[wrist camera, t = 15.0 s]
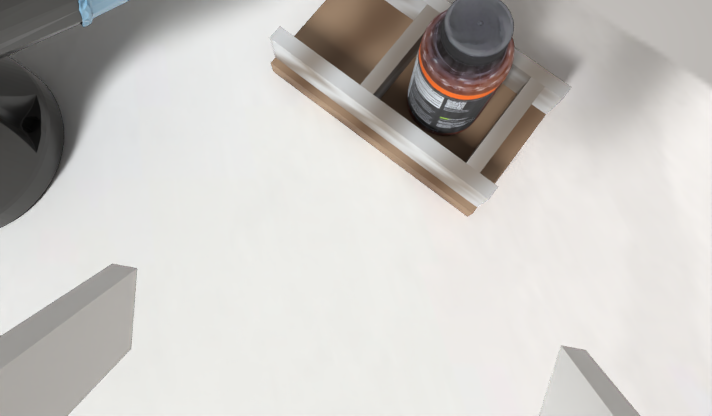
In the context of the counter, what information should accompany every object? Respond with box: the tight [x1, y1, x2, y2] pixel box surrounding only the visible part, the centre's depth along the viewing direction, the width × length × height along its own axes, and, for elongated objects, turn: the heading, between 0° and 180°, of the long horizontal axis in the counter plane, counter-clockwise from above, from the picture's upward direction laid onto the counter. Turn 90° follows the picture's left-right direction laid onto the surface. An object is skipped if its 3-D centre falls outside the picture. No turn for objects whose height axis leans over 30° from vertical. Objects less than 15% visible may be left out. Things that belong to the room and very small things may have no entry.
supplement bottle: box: [407, 0, 515, 136], centre depth 32 cm, size 6×6×11 cm
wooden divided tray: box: [270, 0, 571, 217], centre depth 37 cm, size 20×12×4 cm, turn 52°
